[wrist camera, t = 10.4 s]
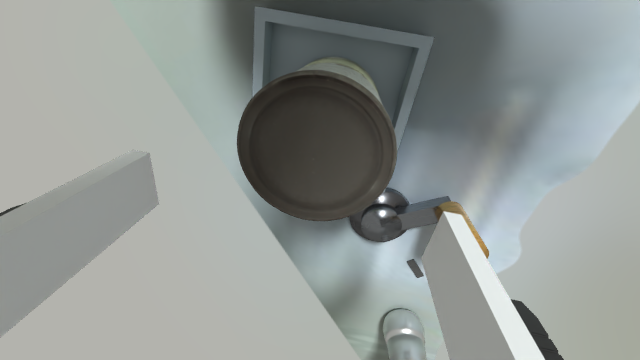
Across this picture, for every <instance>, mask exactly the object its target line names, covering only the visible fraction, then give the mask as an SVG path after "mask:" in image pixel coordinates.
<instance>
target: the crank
mask: <svg viewBox="0 0 640 360" xmlns="http://www.w3.org/2000/svg"><path fill="white" fill-rule="evenodd" d="M443 211H445V212H450V213H455V214H460V215H462V216H463V218H464V220H465V222H466V223H467V225H468V227H469V229H470V230H471V232H472V234H473V235H474V237H475V239H476V241H477V242H478V244H479V246H480V248H481V249H482V251H483V253H484V255H485V256H486V258H488V256H489V251H488V249H487V247H486V246H485V244H484V242H483V241H482V239H481V237H480V236H479V234H478V232H477V231H476V229H475V228H474V226H473V224H472V223H471V221H470V219H469V218H468V216H467V214H466V213H465V211H464V209H463V208H462V206H461V205H460V204H459V203H457V202H453V201H451V200H450V199H449V197H448V196H446V197H441V198H437V199H433V200H428V201H424V202H420V203H416V204H411V205H407V206H403V207H398V208H394V207H393V206H391V205H388V204H383V203H379V204H374V205H371V206H369V207H368V208H366V209H365V210H364V212H363V214H362V216H361V228H362V232H363V233H364V235H365V236H366V237H367V238H369V239H371V240H373V241H377V242H386V241H390V240H392V239H394V238H396V237H397V236H398V235H399V234H400V232H401V230H405V229H410V228H415V227H420V226H424V225H429V224H434V223H438V222H439V219H440V217H441V215H442V213H443Z"/></svg>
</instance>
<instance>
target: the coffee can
mask: <svg viewBox="0 0 640 360" xmlns="http://www.w3.org/2000/svg"><path fill="white" fill-rule="evenodd" d="M237 149H238V156H239V160H240V164H241V166H242V169H243V171H244V173H245V175H246V177H247V179H248V181H249V182H250V184H251V185H252V187H253V188H254V189H255V191H256V192H257V193H258V194H259V195H260V196H261V197H262V198H263V199H264V200H265V201H267V202H268V203H269V204H271V205H272V206H273V207H275V208H277V209H279V210H280V211H282V212H284V213H287V214H289V215H291V216H294V217H297V218H301V219H305V220H312V221H331V220H337V219H342V218H345V217H349V216H351V215H354V214H356V213H358V212H360V211H362V210H364V209H365V208H367V207H368V206H369V205H371V204H372V203H373V202H374V201H375V200H376V199H377V198H378V197H379V196H380V195H381V194H382V193H383V191H384V190H385V188H386V187H387V185H388V184H389V181H390V179H391V177H392V174H393V172H394V169H395V165H396V159H397V141H396V135H395V131H394V128H393V125H392V122H391V119H390V117H389V115H388V113H387V112H386V110H385V108H384V107H383V105H382V102H381V100H380V97H379V94H378V90H377V87H376V85H375V83H374V81H373V79H372V78H371V76H370V75H369V74H368V72H367V71H366V70H365V69H364V68H363V67H361V66H360V65H359V64H357V63H356V62H354V61H351V60H349V59H346V58H342V57H324V58H320V59H316V60H314V61H312V62H311V63H309V64H307V65H306V66H304V67H303V68H301V69H299V70H297V71H295V72H292V73H288V74H286V75H283V76H280V77H278V78H276V79H274V80H272V81H271V82H270V83H268V84H267V85H265V86H264V87H263V88H262V89H260V90H259V91H258V92H257V93H256V94H255V95H254V96H253V98H252V99H251V100H250V102H249V103H248V105H247V107H246V108H245V110H244V112H243V115H242V117H241V120H240V124H239V129H238V134H237Z"/></svg>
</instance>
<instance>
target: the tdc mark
mask: <svg viewBox="0 0 640 360" xmlns="http://www.w3.org/2000/svg"><path fill="white" fill-rule="evenodd" d="M407 263H408V264H409V266H410V267H411V269H412V270H413V272H414V273H415V275H416V276H417V278H419V277H422V276H424V275H423V273H422V272H421V270H420V269H419V267H418V265H417V264H416V262H415V261H414V259H413V260H410V261H407Z"/></svg>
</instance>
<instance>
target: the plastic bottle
mask: <svg viewBox="0 0 640 360" xmlns="http://www.w3.org/2000/svg"><path fill="white" fill-rule="evenodd" d="M383 333H384V338H385V342H386V345H387V349H388V354H389V360H427V358H426V351H425V334H424V328H423V325H422V323H421V321H420V319H419V317H418V316H417V315H416V314H414V313H413V312H412V311H409V310H406V309H397V310H393V311H391V312H390V313H388V314H387V316H386V317H385V319H384V323H383Z"/></svg>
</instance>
